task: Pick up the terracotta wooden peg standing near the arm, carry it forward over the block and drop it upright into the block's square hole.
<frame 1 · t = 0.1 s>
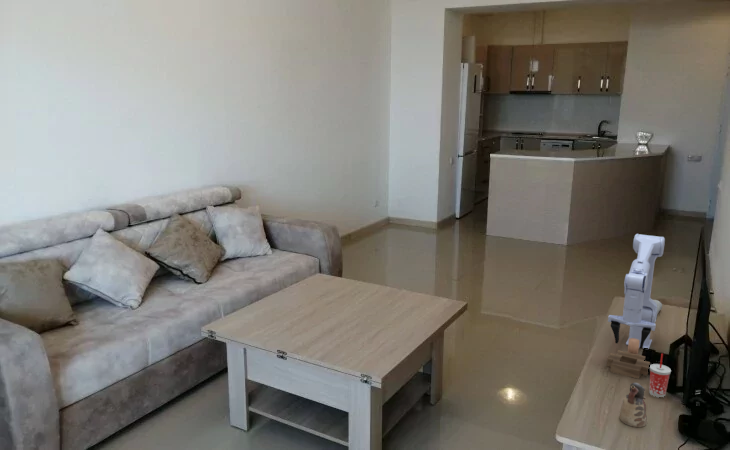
hand: (628, 345, 193), 10 cm above the tv stand, tool pointing down, fingers open, 7 cm apart
figurine: (632, 421, 166), on the tv stand
beverage cup: (657, 394, 181), on the tv stand
tube: (649, 319, 242), on the tv stand
peg: (632, 357, 206), on the tv stand
socket block: (627, 368, 198), on the tv stand
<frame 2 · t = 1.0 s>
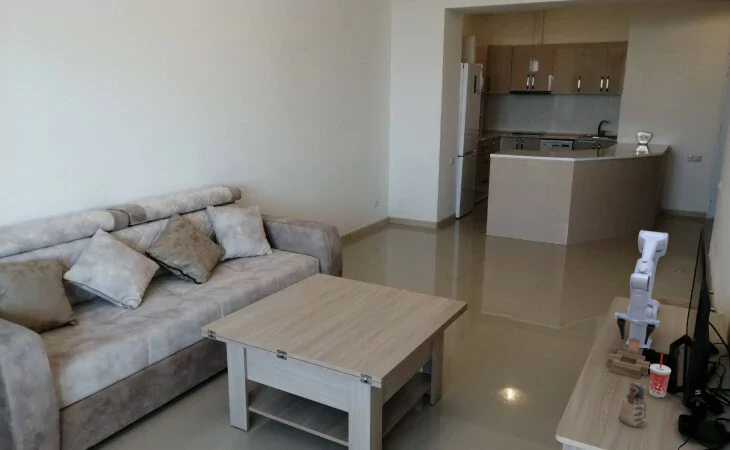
hand: (634, 341, 204), 7 cm above the tv stand, tool pointing down, fingers open, 7 cm apart
nothing on the tv stand moved.
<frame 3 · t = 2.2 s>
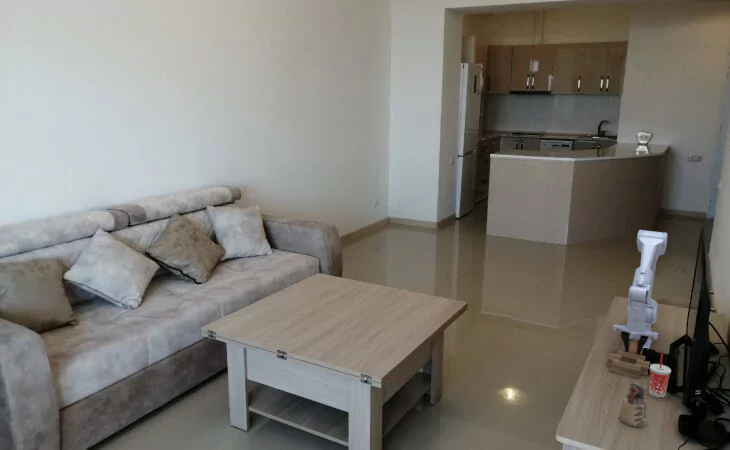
hand: (632, 353, 206), 2 cm above the tv stand, tool pointing down, fingers closed on peg, 3 cm apart
peg: (632, 357, 206), on the tv stand, touching gripper
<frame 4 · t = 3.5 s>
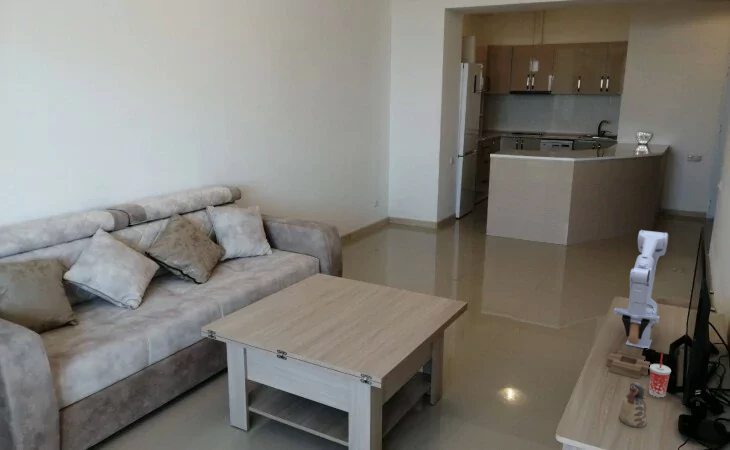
hand: (633, 336, 202), 9 cm above the tv stand, tool pointing down, fingers closed on peg, 3 cm apart
peg: (633, 341, 203), point 7 cm above the tv stand, touching gripper
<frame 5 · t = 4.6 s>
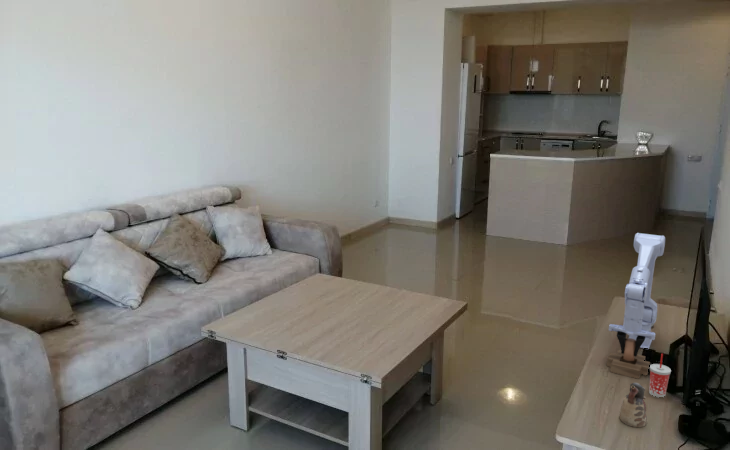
hand: (629, 353, 197), 5 cm above the tv stand, tool pointing down, fingers closed on peg, 3 cm apart
peg: (628, 358, 197), point 4 cm above the tv stand, touching gripper
when the fingers open (4 cm above the tv stand, at t = 5.3 s): peg drops 2 cm, resting in socket block.
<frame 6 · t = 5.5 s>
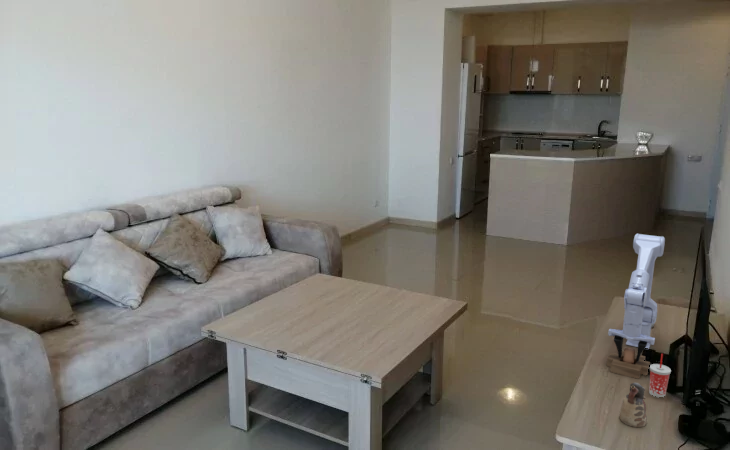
hand: (628, 358, 197), 4 cm above the tv stand, tool pointing down, fingers open, 5 cm apart
peg: (627, 368, 198), resting in socket block
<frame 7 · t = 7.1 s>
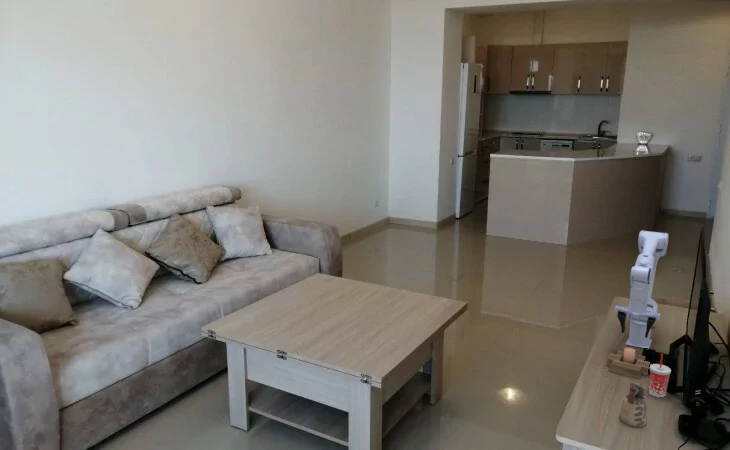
hand: (634, 334, 203), 9 cm above the tv stand, tool pointing down, fingers open, 7 cm apart
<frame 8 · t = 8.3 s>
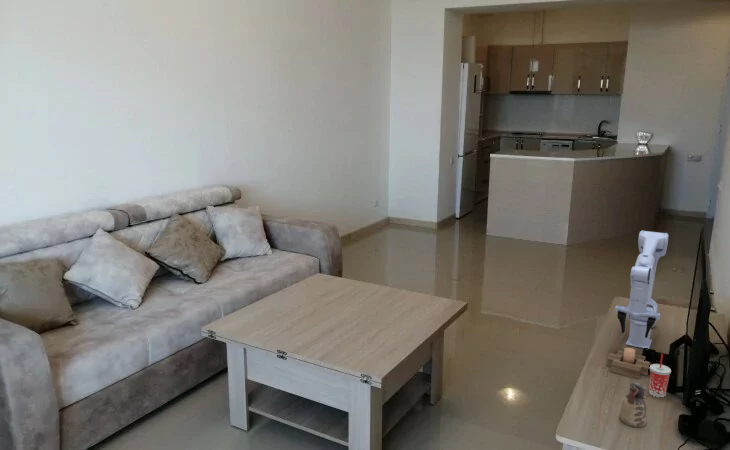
hand: (634, 334, 203), 9 cm above the tv stand, tool pointing down, fingers open, 7 cm apart
at the end: peg 0.0 cm off-centre on the socket block, point 0.0 cm above the socket block's base; peg tilted 0°; the gripper is holding nothing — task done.
